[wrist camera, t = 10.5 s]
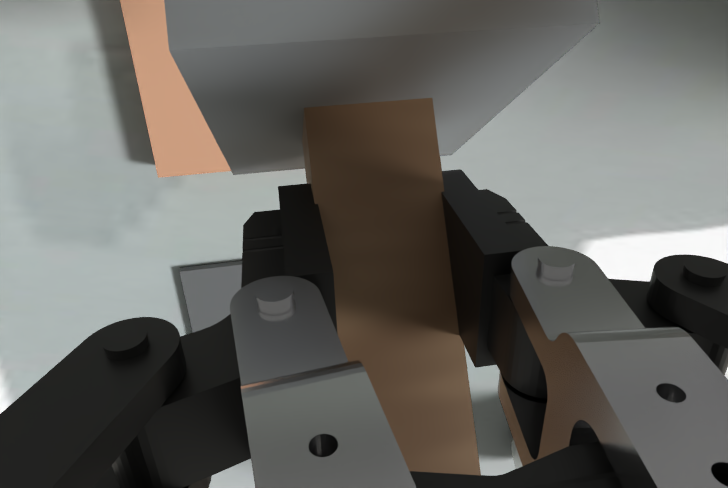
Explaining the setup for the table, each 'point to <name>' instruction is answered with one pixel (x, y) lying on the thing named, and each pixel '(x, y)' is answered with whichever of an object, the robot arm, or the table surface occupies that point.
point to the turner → (376, 160)
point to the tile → (168, 97)
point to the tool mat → (210, 291)
